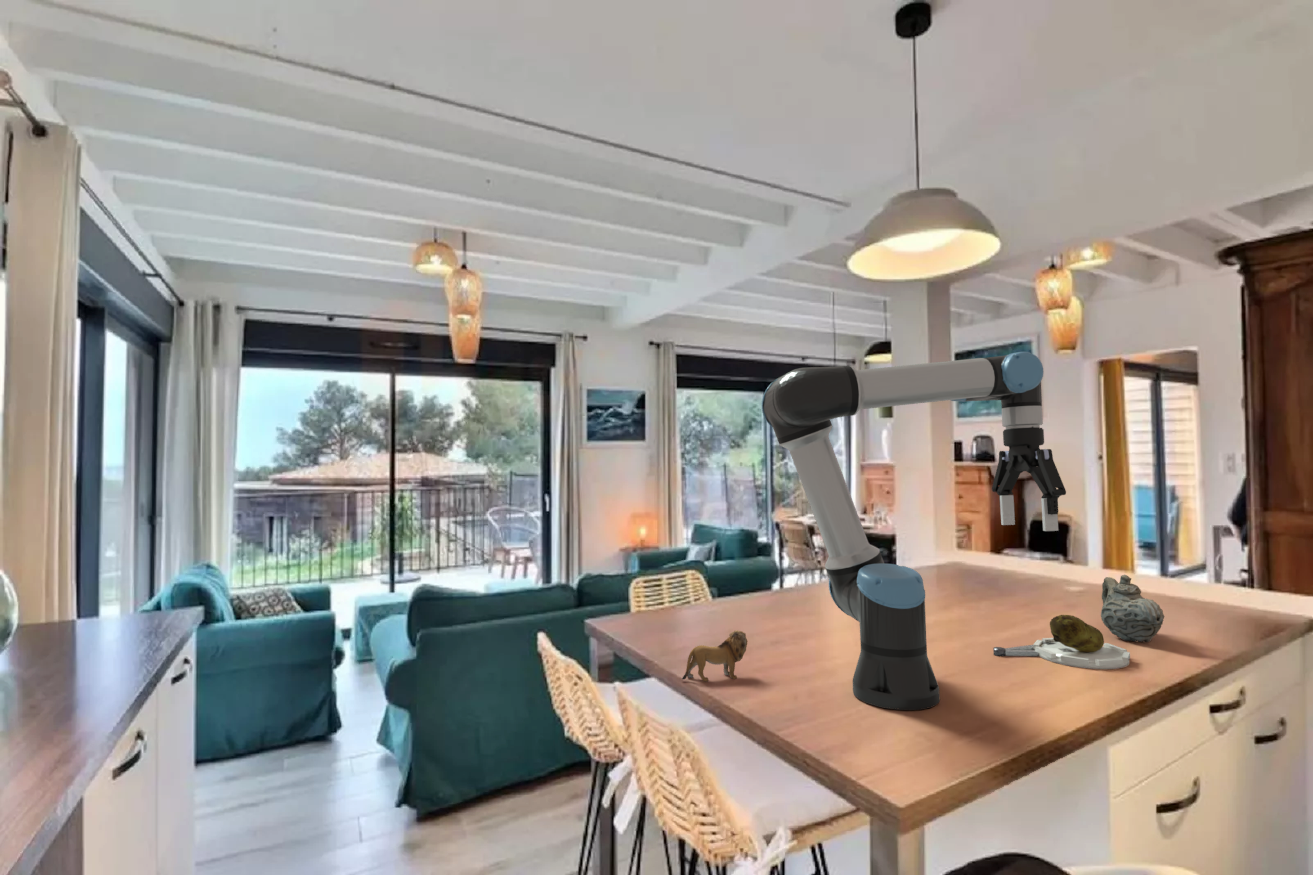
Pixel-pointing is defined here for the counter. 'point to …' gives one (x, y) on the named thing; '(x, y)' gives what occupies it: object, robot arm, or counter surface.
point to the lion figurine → (718, 655)
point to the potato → (1076, 633)
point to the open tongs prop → (1019, 650)
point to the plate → (1083, 655)
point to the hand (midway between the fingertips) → (1028, 527)
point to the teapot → (1129, 611)
